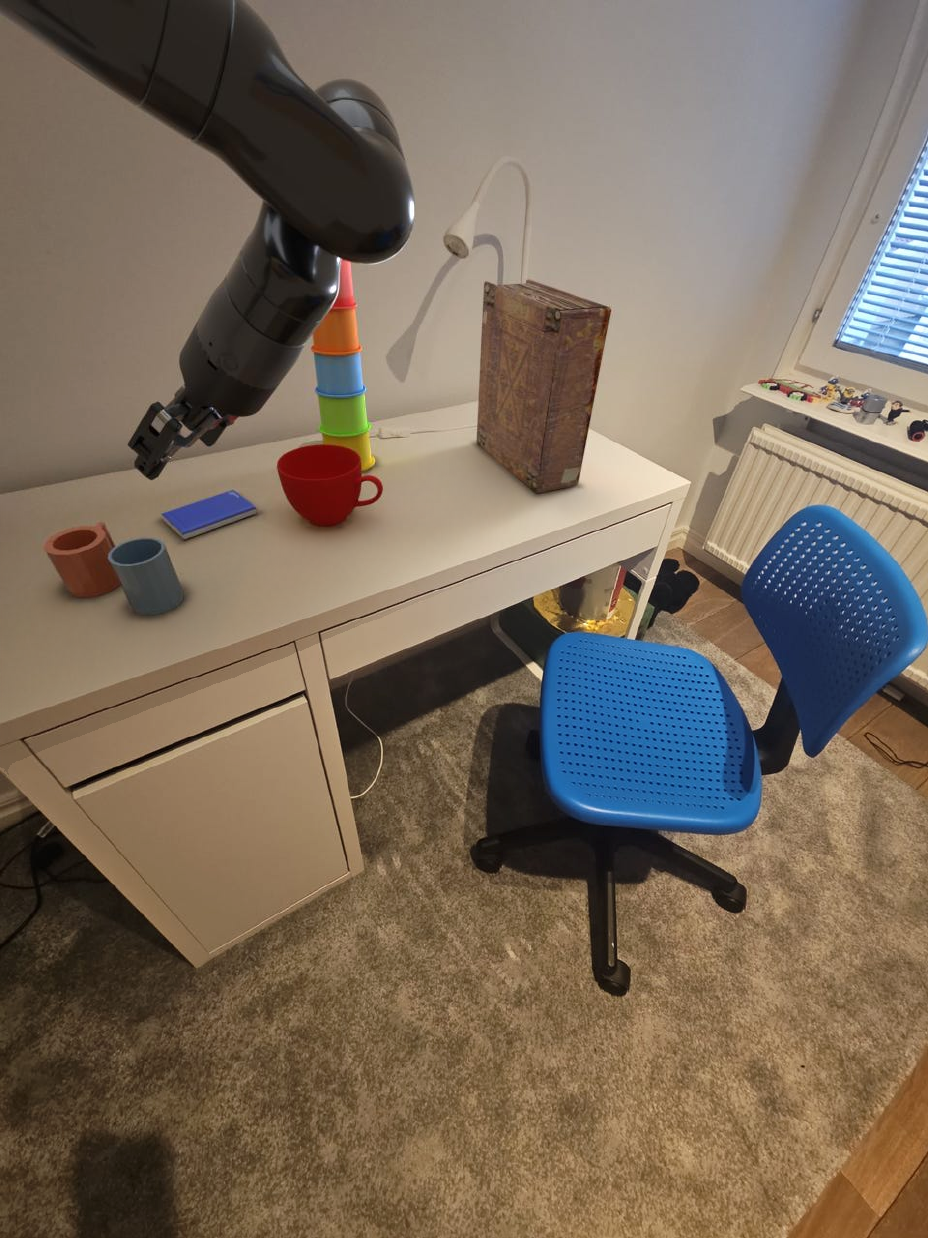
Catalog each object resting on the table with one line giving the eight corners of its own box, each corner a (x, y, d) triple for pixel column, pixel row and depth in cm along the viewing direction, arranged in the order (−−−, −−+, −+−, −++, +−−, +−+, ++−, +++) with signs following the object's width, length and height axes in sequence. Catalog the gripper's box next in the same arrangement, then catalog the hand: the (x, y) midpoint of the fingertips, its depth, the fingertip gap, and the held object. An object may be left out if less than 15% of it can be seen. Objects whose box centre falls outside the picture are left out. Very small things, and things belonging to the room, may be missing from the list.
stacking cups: (311, 464, 106) (277, 252, 83) (351, 449, 112) (330, 247, 89) (345, 481, 101) (319, 261, 78) (386, 464, 107) (372, 255, 84)
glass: (173, 615, 71) (152, 566, 65) (123, 615, 70) (98, 565, 65) (190, 586, 76) (172, 537, 70) (144, 585, 75) (122, 536, 70)
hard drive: (232, 488, 94) (160, 512, 87) (255, 505, 90) (181, 532, 83) (234, 496, 95) (163, 520, 88) (257, 514, 91) (184, 540, 84)
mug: (110, 597, 73) (88, 554, 68) (57, 597, 73) (32, 554, 68) (142, 556, 81) (124, 514, 76) (94, 555, 80) (73, 514, 76)
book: (475, 442, 116) (483, 280, 97) (513, 436, 119) (527, 278, 100) (537, 494, 99) (561, 310, 79) (578, 486, 102) (611, 307, 83)
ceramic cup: (368, 548, 84) (362, 490, 77) (272, 529, 87) (259, 471, 81) (399, 509, 93) (397, 454, 87) (312, 493, 97) (303, 439, 90)
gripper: (259, 293, 50) (192, 402, 60) (145, 327, 39) (87, 453, 49) (319, 361, 52) (245, 456, 62) (226, 411, 42) (155, 514, 52)
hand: (175, 454), depth 56 cm, fingers open, 8 cm apart
